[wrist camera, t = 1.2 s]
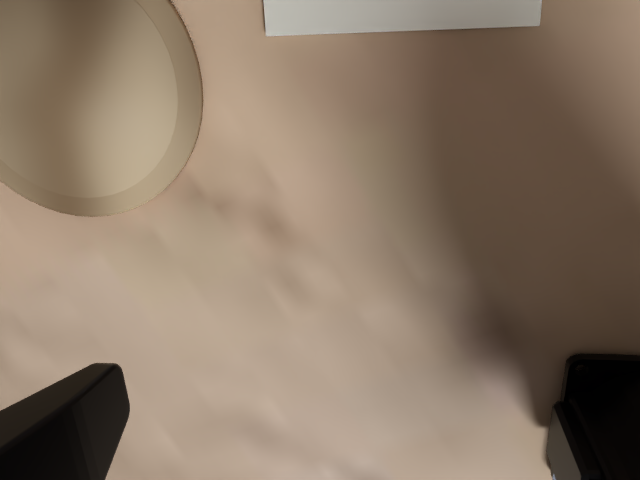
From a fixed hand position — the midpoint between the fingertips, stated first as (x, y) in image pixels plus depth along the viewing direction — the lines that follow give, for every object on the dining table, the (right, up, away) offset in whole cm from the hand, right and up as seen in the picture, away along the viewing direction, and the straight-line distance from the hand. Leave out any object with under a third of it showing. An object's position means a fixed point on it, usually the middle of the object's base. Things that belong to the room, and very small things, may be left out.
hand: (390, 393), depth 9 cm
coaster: (-10, +8, +12) cm, 18 cm away
